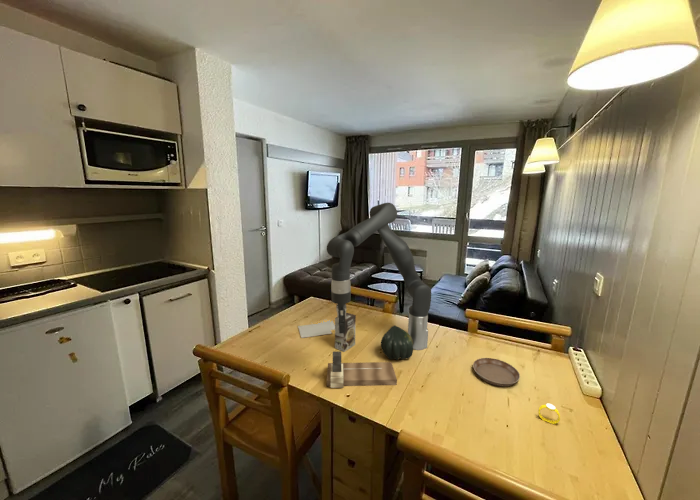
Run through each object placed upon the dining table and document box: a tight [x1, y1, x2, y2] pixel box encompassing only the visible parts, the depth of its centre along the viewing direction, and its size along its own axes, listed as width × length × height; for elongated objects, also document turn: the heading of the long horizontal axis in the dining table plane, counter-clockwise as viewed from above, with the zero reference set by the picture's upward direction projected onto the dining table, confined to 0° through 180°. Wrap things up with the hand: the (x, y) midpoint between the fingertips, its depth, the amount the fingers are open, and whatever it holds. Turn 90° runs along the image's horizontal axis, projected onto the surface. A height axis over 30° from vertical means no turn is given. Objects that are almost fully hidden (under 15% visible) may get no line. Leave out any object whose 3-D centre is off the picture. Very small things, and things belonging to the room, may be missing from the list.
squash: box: [380, 325, 414, 361], centre depth 136 cm, size 14×15×15 cm
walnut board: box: [326, 361, 398, 387], centre depth 121 cm, size 28×12×3 cm, turn 92°
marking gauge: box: [330, 350, 344, 389], centre depth 117 cm, size 5×10×11 cm, turn 2°
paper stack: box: [297, 320, 335, 339], centre depth 167 cm, size 23×25×1 cm
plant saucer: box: [472, 357, 521, 387], centre depth 122 cm, size 18×18×3 cm
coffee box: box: [334, 311, 357, 353], centre depth 143 cm, size 9×6×16 cm
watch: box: [537, 403, 561, 425], centre depth 98 cm, size 6×3×6 cm, turn 56°
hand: (341, 327), depth 116 cm, fingers open, 8 cm apart
